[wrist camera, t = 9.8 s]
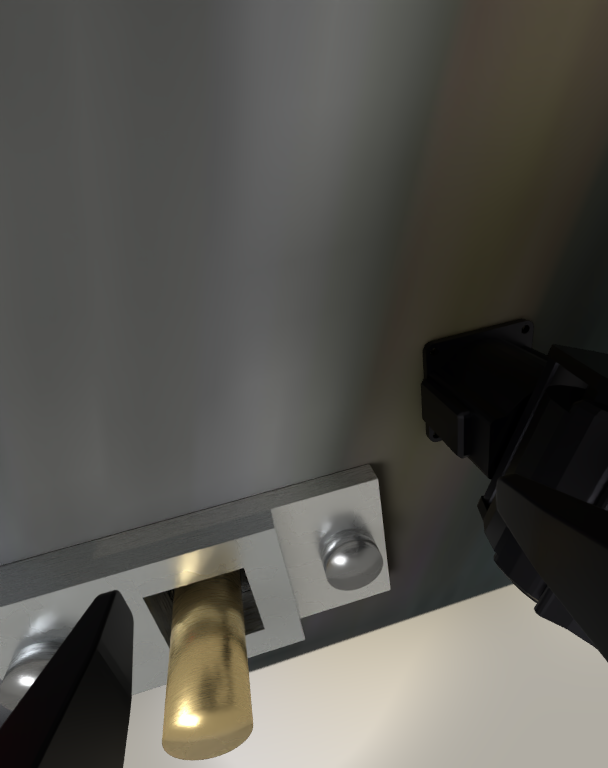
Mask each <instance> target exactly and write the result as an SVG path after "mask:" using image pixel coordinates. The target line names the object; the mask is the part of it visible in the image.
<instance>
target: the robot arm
mask: <svg viewBox="0 0 608 768" xmlns="http://www.w3.org/2000/svg"><path fill="white" fill-rule="evenodd" d="M523 326H525V328H524V329H523V331H521V330H522V328H523ZM533 329H534V326H533V323H532V322H531V321H528V320H526V319H519V320H515V321H511V322H507V323H503V324H499V325H495V326H491V327H487V328H483V329H479V330H475V331H471V332H467V333H463V334H459V335H455V336H451V337H447V338H442V339H438V340H434V341H431V342H428V343H427V344H426V345H425V346H424V348H423V370H424V379H423V381H422V383H421V396H422V418H423V420H424V421H425V422H426V435H427V437H428V438H429V439H430V440H431V441H433V442H438V441H441V440H443V441H444V442H445V443H446V445H447V446H448V447H449V448H450V449H451V450H452V451H453V452H454V453H455V454H456V455H457V456H459V457H460V458H465V457H468V458H469V459H470V460H471V461H472V462H473V463H474V464H475V465H476V466H477V467H478V468H479V469H480V470H481V471H482V472H483V473H484V474H485V475H486V476H487V477H488V478H489V479H492V480H491V482H490V484H489V486H488V489H487V491H486V493H485V495H484V496H481V498H480V500H479V502H478V505H477V507H478V509H479V512H480V514H481V516H482V519H483V522H484V531H485V534H486V536H487V538H488V540H489V542H490V544H491V546H492V547H493V549H494V551H495V552H496V553H495V555H494V561H495V562H496V564H497V566H498V567H499V568H500V569H501V570H502V571H503V573H504V574H505V575H506V576H507V577H508V578H509V579H510V580H511V581H512V582H513V584H514V585H515V586H516V587H517V588H518V589H520V590H521V591H522V592H523V593H524V594H525V595H526V596H528V597H529V598H530V599H532V600H533V601H534V602H536V603H537V604H536V606H535V608H534V610H535V612H536V613H537V614H538V615H539V616H541V617H543V618H545V619H547V620H549V621H551V622H554V623H555V624H557V625H559V626H561V627H564V628H566V629H568V630H569V631H571V632H572V633H574V634H575V635H577V636H578V637H580V638H582V639H583V640H585V641H586V642H588V643H589V644H591V645H592V646H594V647H595V648H596V649H598V650H599V652H600V653H601V654H602V655H603V657H604V658H605V659H606V661H607V662H608V354H605V353H600V352H594V351H589V350H583V349H577V348H572V347H566V346H561V345H555V344H552V346H551V349H550V351H549V353H548V355H545V354H543V353H540V352H538V351H536V350H534V349H532V340H533ZM433 348H435V351H434V353H432V354H430V352H431V350H432V349H433ZM434 433H436V434H435V435H433V434H434ZM133 635H134V620H133V615H132V612H131V610H130V608H129V607H128V605H127V603H126V601H125V599H124V598H123V596H122V594H121V593H120V591H118V590H112V591H109V592H106V593H102V594H100V595H98V596H97V597H96V598H95V599H94V600H93V602H92V603H91V604H90V606H89V607H88V609H87V610H86V611H85V613H84V614H83V615H82V617H81V618H80V619H79V621H78V622H77V624H76V625H75V626H74V628H73V629H72V630H71V632H70V633H69V635H68V636H67V637H66V639H65V640H64V641H63V643H62V644H61V645H60V647H59V648H58V650H57V651H56V652H55V654H54V655H53V656H52V658H51V659H50V660H49V662H48V663H47V665H46V666H45V667H44V669H43V670H42V671H41V673H40V674H39V676H38V677H37V678H36V680H35V681H34V682H33V684H32V685H31V686H30V688H29V689H28V691H27V692H26V693H25V695H24V696H23V697H22V699H21V700H20V702H19V703H18V704H17V706H16V707H15V708H14V710H13V711H12V712H11V714H10V715H9V717H8V718H7V719H6V721H5V722H4V723H3V725H2V726H1V727H0V768H123V764H124V756H125V748H126V740H127V732H128V725H129V717H130V708H131V698H132V671H133Z"/></svg>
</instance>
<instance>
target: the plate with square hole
mask: <svg viewBox="0 0 608 768" xmlns="http://www.w3.org/2000/svg"><path fill="white" fill-rule="evenodd" d="M241 568H244V570H245V573H246V575H247V578H248V581H249V584H250V587H251V591H248V592H244V593H242V602H243V613H244V625H245V636H246V648H247V658H249V657H253V656H256V655H259V654H262V653H265V652H268V651H271V650H274V649H277V648H280V647H284V646H287V645H290V644H293V643H296V642H299V641H302V640H305V636H304V632H303V627H302V622H301V618H303V617H306V616H309V615H312V614H316V613H319V612H322V611H325V610H328V609H331V608H335V607H338V606H341V605H344V604H347V603H350V602H354V601H357V600H360V599H363V598H366V597H369V596H373V595H376V594H379V593H382V592H385V591H388V590H390V581H389V572H388V563H387V555H386V546H385V537H384V528H383V519H382V510H381V501H380V492H379V483H378V478H377V476H376V475H375V473H374V471H373V470H372V468H371V466H370V464H367V465H363V466H360V467H356V468H353V469H349V470H345V471H342V472H338V473H335V474H331V475H328V476H324V477H320V478H317V479H313V480H310V481H306V482H302V483H299V484H295V485H292V486H288V487H284V488H281V489H277V490H274V491H270V492H266V493H263V494H259V495H256V496H252V497H248V498H245V499H241V500H238V501H234V502H230V503H227V504H223V505H220V506H216V507H212V508H209V509H205V510H202V511H198V512H194V513H191V514H187V515H184V516H180V517H176V518H173V519H169V520H166V521H162V522H158V523H155V524H151V525H148V526H144V527H140V528H137V529H133V530H130V531H126V532H122V533H119V534H115V535H112V536H108V537H105V538H101V539H97V540H94V541H90V542H87V543H83V544H79V545H76V546H72V547H69V548H65V549H61V550H58V551H54V552H51V553H47V554H43V555H40V556H36V557H33V558H29V559H25V560H22V561H18V562H15V563H11V564H7V565H4V566H0V679H1V680H2V683H1V685H0V703H1V704H2V705H3V706H4V707H5V708H7V709H9V710H11V711H13V710H14V708H15V707H16V706H17V704H18V703H19V702H20V700H21V699H22V697H23V696H24V695H25V693H26V692H27V691H28V689H29V688H30V686H31V685H32V684H33V682H34V681H35V680H36V678H37V677H38V676H39V674H40V673H41V671H42V670H43V669H44V667H45V666H46V665H47V663H48V662H49V660H50V659H51V658H52V656H53V655H54V654H55V652H56V651H57V650H58V648H59V647H60V645H61V644H62V643H63V641H64V640H65V639H66V637H67V636H68V635H69V633H70V632H71V630H72V629H73V628H74V626H75V625H76V624H77V622H78V621H79V619H80V618H81V617H82V615H83V614H84V613H85V611H86V610H87V609H88V607H89V606H90V604H91V603H92V602H93V600H94V599H95V598H96V597H97V596H98V595H100V594H102V593H106V592H109V591H112V590H118V591H120V593H121V594H122V596H123V598H124V599H125V601H126V603H127V605H128V607H129V608H130V610H131V612H132V615H133V620H134V635H133V671H132V695H134V694H138V693H141V692H144V691H147V690H150V689H153V688H156V687H160V686H162V685H166V684H167V675H168V662H169V650H170V638H171V625H172V613H173V602H172V600H171V598H170V596H169V594H168V592H167V590H171V589H174V588H178V587H181V586H184V585H188V584H191V583H194V582H198V581H201V580H204V579H208V578H211V577H215V576H218V575H221V574H225V573H228V572H231V571H235V570H238V569H241Z"/></svg>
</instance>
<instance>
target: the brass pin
mask: <svg viewBox="0 0 608 768" xmlns="http://www.w3.org/2000/svg"><path fill="white" fill-rule="evenodd" d="M252 729H253V717H252V705H251V694H250V682H249V671H248V659H247V648H246V636H245V625H244V613H243V602H242V590H241V579H240V569H238V570H235V571H231V572H228V573H225V574H221V575H218V576H215V577H211V578H208V579H204V580H201V581H198V582H194V583H191V584H188V585H184V586H181V587H178V588H174V600H173V613H172V625H171V638H170V650H169V662H168V675H167V687H166V700H165V713H164V725H163V738H162V745H163V748H164V750H165V751H166V752H167V753H168V754H169V755H171V756H173V757H175V758H178V759H183V760H204V759H209V758H213V757H217V756H220V755H222V754H225V753H227V752H229V751H232V750H233V749H235V748H237V747H238V746H239V745H241V744H242V743H243V742H244V741H245V740H246V739H247V738H248V737H249V736H250V734H251V732H252Z"/></svg>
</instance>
